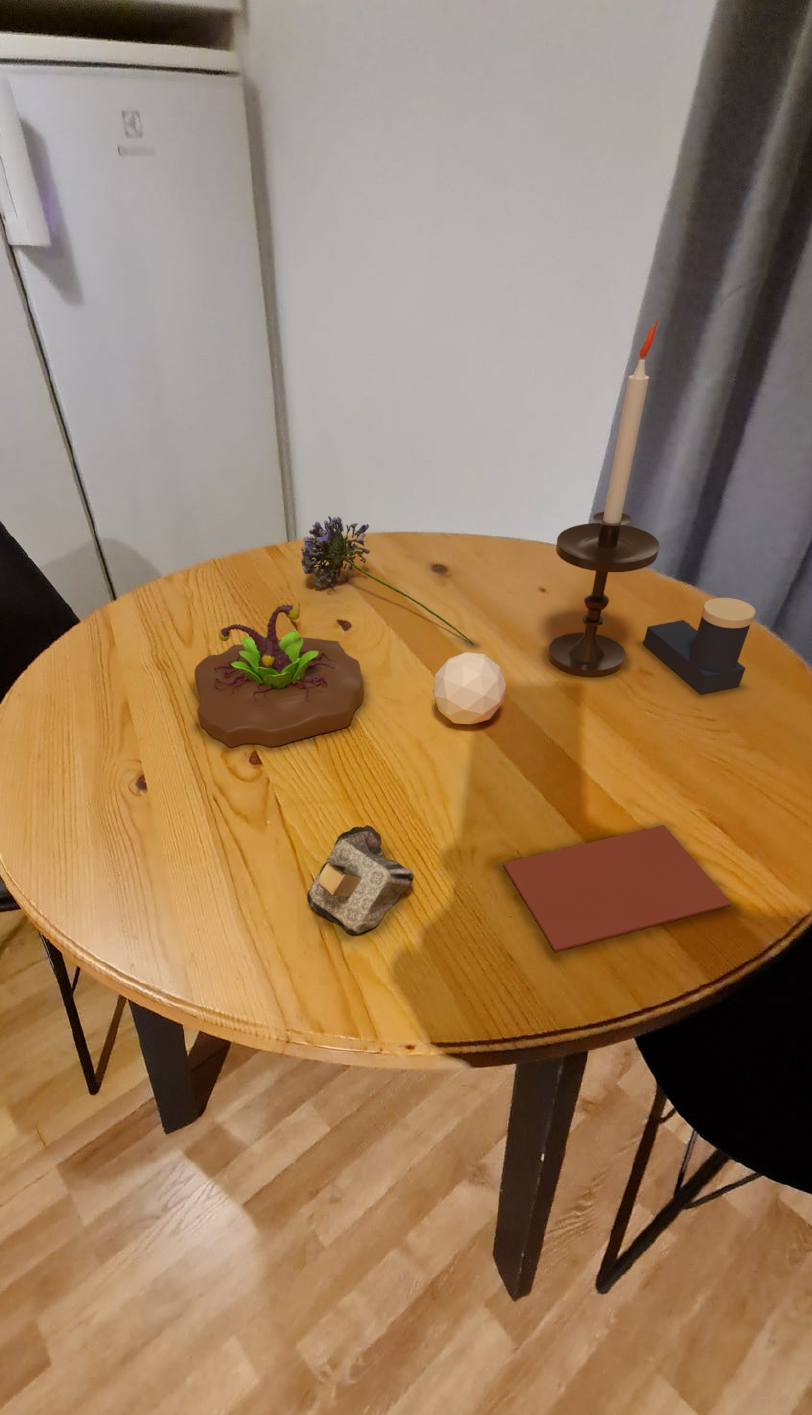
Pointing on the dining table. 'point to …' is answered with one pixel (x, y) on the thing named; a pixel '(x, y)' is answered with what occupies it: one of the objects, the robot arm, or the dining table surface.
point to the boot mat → (613, 887)
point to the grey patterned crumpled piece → (358, 882)
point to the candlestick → (607, 546)
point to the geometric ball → (469, 688)
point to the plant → (277, 687)
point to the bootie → (705, 645)
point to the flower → (339, 555)
